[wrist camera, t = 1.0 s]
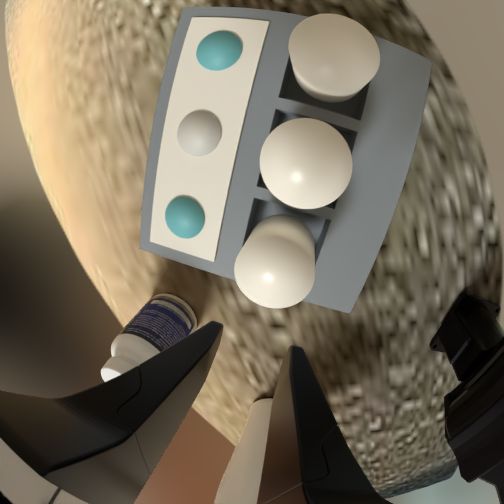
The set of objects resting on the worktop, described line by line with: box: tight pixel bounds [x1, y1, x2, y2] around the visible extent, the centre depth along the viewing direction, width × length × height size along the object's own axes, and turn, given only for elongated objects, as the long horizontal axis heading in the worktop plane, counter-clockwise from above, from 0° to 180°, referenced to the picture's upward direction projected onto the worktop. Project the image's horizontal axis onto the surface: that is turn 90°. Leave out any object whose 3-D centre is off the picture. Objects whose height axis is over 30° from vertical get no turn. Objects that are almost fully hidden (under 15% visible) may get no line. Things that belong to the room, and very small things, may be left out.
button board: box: [140, 7, 432, 314], centre depth 16 cm, size 16×18×3 cm
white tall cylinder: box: [214, 398, 273, 504], centre depth 22 cm, size 7×7×15 cm
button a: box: [288, 14, 380, 103], centre depth 10 cm, size 4×4×4 cm
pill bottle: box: [101, 294, 197, 382], centre depth 21 cm, size 5×5×10 cm
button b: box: [260, 118, 353, 209], centre depth 13 cm, size 4×4×4 cm
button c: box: [234, 214, 315, 308], centre depth 15 cm, size 4×4×4 cm
